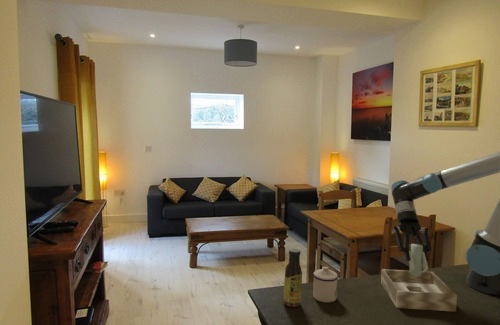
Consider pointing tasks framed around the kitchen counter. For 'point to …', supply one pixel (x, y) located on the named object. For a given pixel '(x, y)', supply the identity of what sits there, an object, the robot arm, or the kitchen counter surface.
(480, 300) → the kitchen counter surface
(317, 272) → the teacup with lid
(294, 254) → the sauce bottle
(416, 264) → the peg
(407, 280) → the box
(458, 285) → the kitchen counter surface
